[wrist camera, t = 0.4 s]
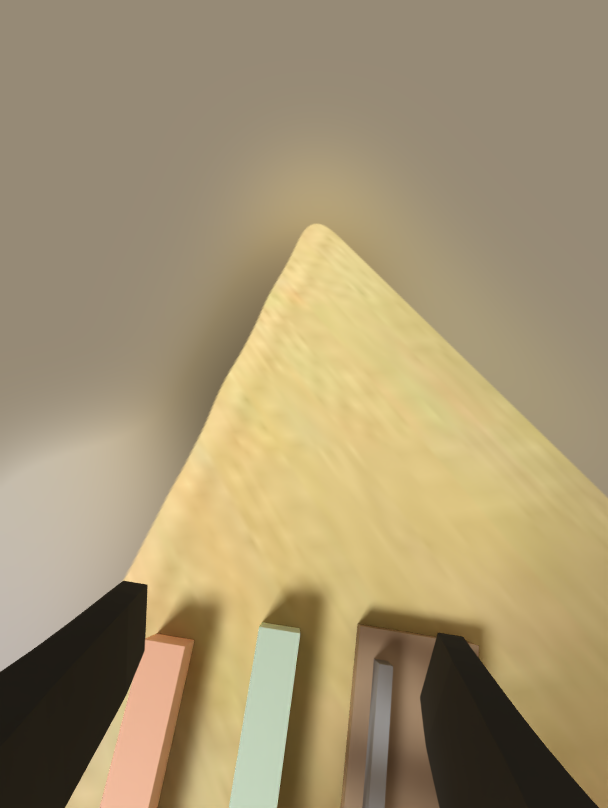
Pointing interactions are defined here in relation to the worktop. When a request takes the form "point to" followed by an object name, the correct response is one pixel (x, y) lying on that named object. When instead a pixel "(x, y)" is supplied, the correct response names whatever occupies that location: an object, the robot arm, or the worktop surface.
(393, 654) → the cradle
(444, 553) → the worktop surface
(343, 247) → the worktop surface
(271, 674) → the block
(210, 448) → the worktop surface
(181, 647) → the bar
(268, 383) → the worktop surface
